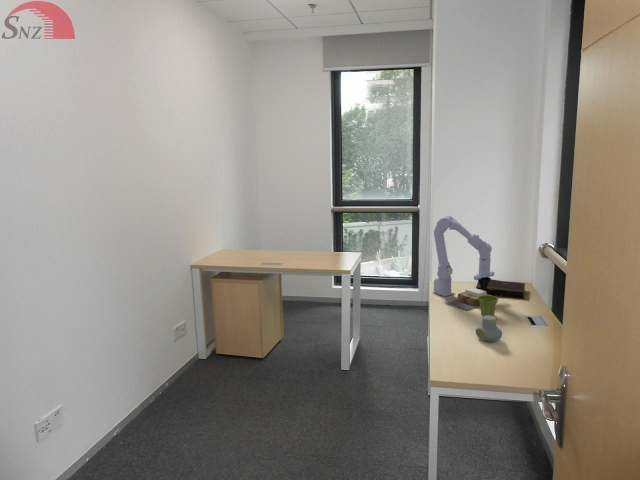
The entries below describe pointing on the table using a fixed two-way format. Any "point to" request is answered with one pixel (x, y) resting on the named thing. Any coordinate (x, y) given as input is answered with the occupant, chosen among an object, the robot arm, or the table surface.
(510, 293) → the diary
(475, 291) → the off-white rectangular block
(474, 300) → the brown shallow square box
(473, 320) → the table surface
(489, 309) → the plant pot
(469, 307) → the mat
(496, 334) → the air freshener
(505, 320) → the table surface
